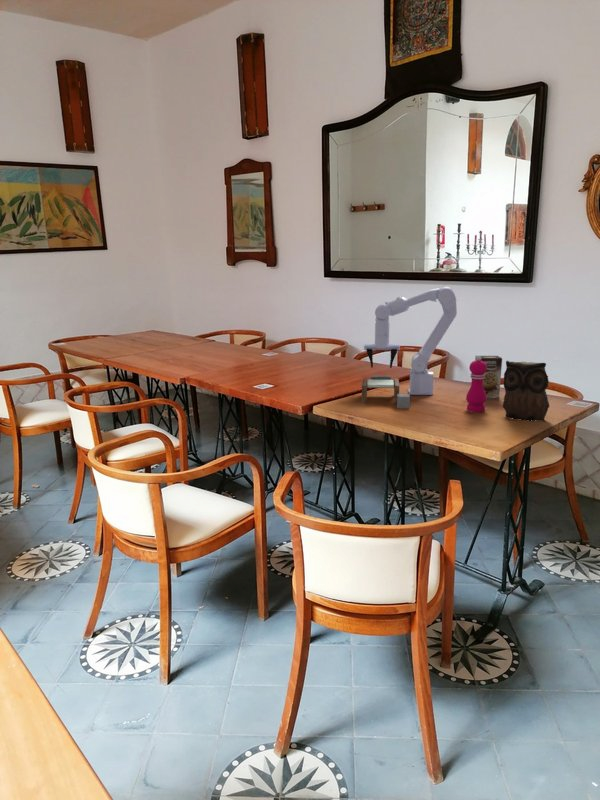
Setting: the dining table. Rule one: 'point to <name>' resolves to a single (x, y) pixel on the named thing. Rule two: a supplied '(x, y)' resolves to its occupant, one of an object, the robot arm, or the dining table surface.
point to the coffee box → (492, 375)
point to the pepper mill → (477, 386)
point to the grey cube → (403, 401)
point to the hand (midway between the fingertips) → (381, 367)
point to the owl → (525, 390)
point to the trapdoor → (381, 381)
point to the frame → (365, 386)
